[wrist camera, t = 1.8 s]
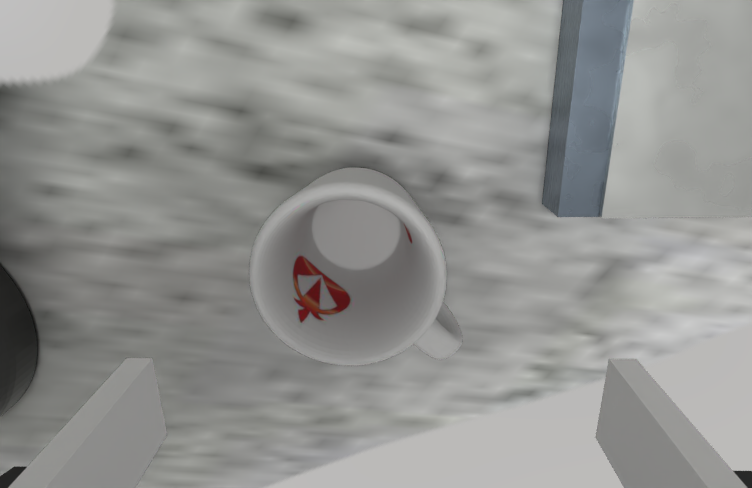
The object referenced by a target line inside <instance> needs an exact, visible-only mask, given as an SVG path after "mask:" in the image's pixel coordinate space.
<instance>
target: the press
mask: <svg viewBox="0 0 752 488" xmlns="http://www.w3.org/2000/svg"><path fill="white" fill-rule="evenodd" d="M542 204H543V205H544V206H545V207H547V208H548V209H549V210H550V211H551V212H553V213H554V214H555V215H556V216H557V217H600V218H701V217H752V0H564V1H563V10H562V20H561V29H560V39H559V48H558V58H557V67H556V77H555V86H554V96H553V105H552V115H551V124H550V134H549V143H548V153H547V162H546V172H545V181H544V191H543V200H542Z"/></svg>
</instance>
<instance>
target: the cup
mask: <svg viewBox="0 0 752 488" xmlns="http://www.w3.org/2000/svg"><path fill="white" fill-rule="evenodd" d="M249 282H250V288H251V293H252V296H253V299H254V302H255V305H256V307H257V309H258V311H259V313H260V315H261V317H262V319H263V320H264V321H265V323H266V324H267V326H268V327H269V328H270V330H271V331H272V332H273V333H274V334H275V335H276V336H277V337H278V338H279V339H280V340H281V341H283V342H284V343H285V344H286V345H288V346H289V347H290V348H292V349H294V350H295V351H297V352H299V353H300V354H302V355H305V356H307V357H309V358H311V359H314V360H317V361H320V362H324V363H328V364H334V365H343V366H356V365H366V364H372V363H376V362H380V361H383V360H386V359H388V358H391V357H393V356H395V355H397V354H399V353H401V352H403V351H404V350H406V349H407V348H409V347H410V346H412V345H413V344H414V345H415V346H416V347H417V348H419V349H420V350H421V351H423V352H424V353H426V354H427V355H429V356H430V357H432V358H434V359H438V360H443V359H447V358H449V357H450V356H452V355H453V354H454V353H455V352H456V351H457V350H458V349H459V348H460V346H461V344H462V342H463V340H462V333H461V330H460V327H459V325H458V323H457V321H456V319H455V317H454V316H453V314H452V313H451V311H450V310H449V308H448V307H447V306H446V305H445V303H444V302H443V300H444V296H445V291H446V283H447V267H446V260H445V255H444V252H443V249H442V246H441V243H440V240H439V238H438V236H437V234H436V232H435V230H434V229H433V227H432V226H431V224H430V223H429V221H428V220H427V219H426V217H425V216H424V214H423V213H422V212H421V210H420V209H419V207H418V206H417V205H416V203H415V202H414V201H413V199H412V198H411V196H410V195H409V194H408V193H407V191H406V190H405V189H404V188H403V187H402V186H401V185H400V184H398V183H397V182H396V181H395V180H393V179H392V178H390V177H388V176H387V175H385V174H383V173H380V172H378V171H375V170H371V169H366V168H357V167H354V168H344V169H339V170H335V171H332V172H329V173H327V174H325V175H323V176H321V177H319V178H318V179H316V180H315V181H313V182H312V183H310V184H309V185H307V186H306V187H305V188H303V189H302V190H300V191H299V192H297V193H296V194H294V195H293V196H292V197H290V198H289V199H287V200H286V201H285V202H283V203H282V204H281V205H280V206H279V207H277V208H276V209H275V210H274V212H273V213H272V214H271V215H270V216H269V217H268V219H267V220H266V221H265V223H264V224H263V226H262V227H261V229H260V231H259V233H258V235H257V237H256V239H255V242H254V244H253V248H252V252H251V256H250V263H249Z"/></svg>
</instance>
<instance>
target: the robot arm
mask: <svg viewBox="0 0 752 488" xmlns="http://www.w3.org/2000/svg"><path fill="white" fill-rule="evenodd" d="M36 361H37V339H36V332H35V328H34V324H33V321H32V318H31V315H30V312H29V310H28V307H27V305H26V303H25V301H24V299H23V297H22V295H21V294H20V292H19V290H18V289H17V287H16V286H15V284H14V283H13V281H12V280H11V278H10V277H9V276H8V274H7V273H6V272H5V271H4V270H3V268H2V267H1V266H0V416H2V415H3V414H4V413H5V412H6V411H7V410H8V409H9V408H10V407H12V406H13V405H14V404H15V403H16V402H17V401H18V400H19V399H20V398H21V396H22V395H23V394H24V392H25V391H26V389H27V388H28V386H29V384H30V382H31V380H32V377H33V374H34V371H35V367H36ZM166 436H167V430H166V425H165V420H164V415H163V409H162V404H161V399H160V394H159V389H158V383H157V378H156V373H155V368H154V363H153V358H126V359H125V360H124V361H123V363H122V364H121V365H120V366H119V367H118V368H117V369H116V370H115V371H114V372H113V373H112V375H111V376H110V377H109V378H108V379H107V380H106V381H105V382H104V383H103V384H102V386H101V387H100V388H99V389H98V390H97V391H96V392H95V393H94V394H93V395H92V396H91V398H90V399H89V400H88V401H87V402H86V403H85V404H84V405H83V406H82V407H81V409H80V410H79V411H78V412H77V413H76V414H75V415H74V416H73V417H72V418H71V419H70V421H69V422H68V423H67V424H66V425H65V426H64V427H63V428H62V429H61V430H60V431H59V433H58V434H57V435H56V436H55V437H54V438H53V439H52V440H51V441H50V442H49V444H48V445H47V446H46V447H45V448H44V449H43V450H42V451H41V452H40V453H39V454H38V456H37V457H36V458H35V459H34V460H33V461H32V462H31V463H30V464H29V465H28V467H13V468H12V469H10V470H9V471H7V472H6V473H4V474H3V475H1V476H0V488H135V487H136V486H137V484H138V482H139V481H140V479H141V477H142V476H143V474H144V473H145V471H146V469H147V468H148V466H149V464H150V463H151V461H152V459H153V458H154V456H155V454H156V453H157V451H158V449H159V448H160V446H161V445H162V443H163V441H164V440H165V438H166ZM596 439H597V441H598V443H599V444H600V446H601V448H602V450H603V451H604V453H605V455H606V457H607V459H608V460H609V462H610V464H611V465H612V467H613V469H614V471H615V473H616V474H617V476H618V478H619V479H620V481H621V483H622V485H623V487H624V488H752V471H733V470H732V469H731V468H730V467H729V466H728V465H727V463H726V462H725V461H724V460H723V459H722V458H721V456H720V455H719V454H718V453H717V452H716V451H715V450H714V448H713V447H712V446H711V445H710V444H709V443H708V441H707V440H706V439H705V438H704V437H703V436H702V434H701V433H700V432H699V431H698V430H697V429H696V428H695V426H694V425H693V424H692V423H691V422H690V421H689V419H688V418H687V417H686V416H685V415H684V414H683V412H682V411H681V410H680V409H679V408H678V407H677V406H676V404H675V403H674V402H673V401H672V400H671V399H670V397H669V396H668V395H667V394H666V393H665V392H664V391H663V389H662V388H661V387H660V386H659V385H658V384H657V382H656V381H655V380H654V379H653V378H652V377H651V375H650V374H649V373H648V372H647V371H646V370H645V368H644V367H643V366H642V365H641V364H640V363H639V361H638V360H637V359H609V361H608V367H607V373H606V379H605V385H604V391H603V396H602V402H601V408H600V414H599V420H598V426H597V432H596Z"/></svg>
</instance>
